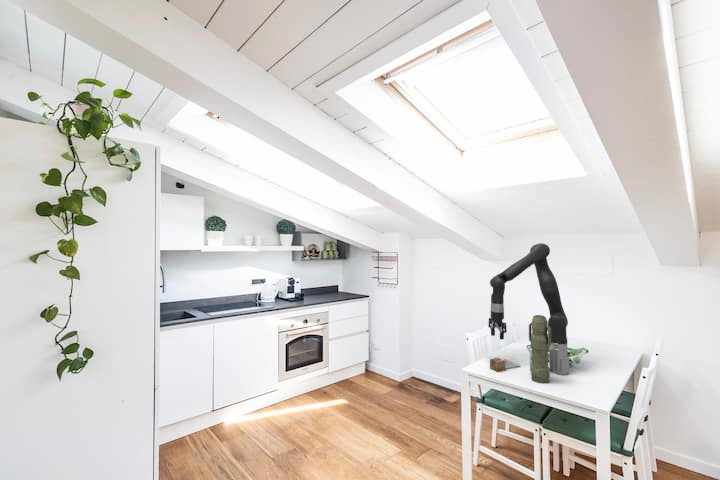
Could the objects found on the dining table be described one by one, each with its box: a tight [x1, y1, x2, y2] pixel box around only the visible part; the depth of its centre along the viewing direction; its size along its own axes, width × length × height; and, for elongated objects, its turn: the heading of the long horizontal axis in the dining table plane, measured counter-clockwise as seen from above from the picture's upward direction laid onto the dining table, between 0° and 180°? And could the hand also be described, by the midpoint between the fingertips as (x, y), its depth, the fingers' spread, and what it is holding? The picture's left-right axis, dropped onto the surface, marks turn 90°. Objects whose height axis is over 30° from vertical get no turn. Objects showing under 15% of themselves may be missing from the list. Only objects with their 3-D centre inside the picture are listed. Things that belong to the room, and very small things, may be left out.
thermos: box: [528, 314, 551, 384], centre depth 188 cm, size 9×12×35 cm
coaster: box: [503, 358, 521, 371], centre depth 211 cm, size 12×12×1 cm
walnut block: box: [489, 357, 506, 373], centre depth 203 cm, size 6×6×6 cm
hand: (497, 337), depth 208 cm, fingers open, 8 cm apart
